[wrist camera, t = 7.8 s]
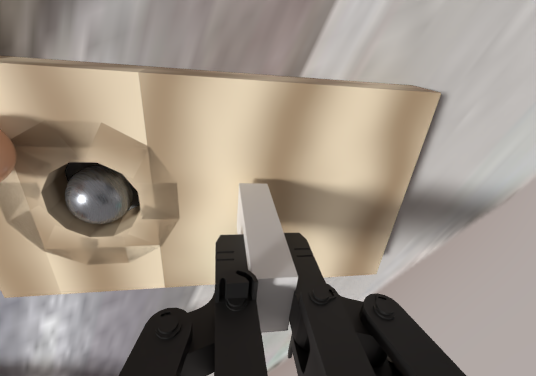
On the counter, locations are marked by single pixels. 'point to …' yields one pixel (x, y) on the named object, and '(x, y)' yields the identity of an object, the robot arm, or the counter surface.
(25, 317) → the counter surface
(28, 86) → the maple board
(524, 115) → the counter surface
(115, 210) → the steel ball
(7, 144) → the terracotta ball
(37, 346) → the counter surface
